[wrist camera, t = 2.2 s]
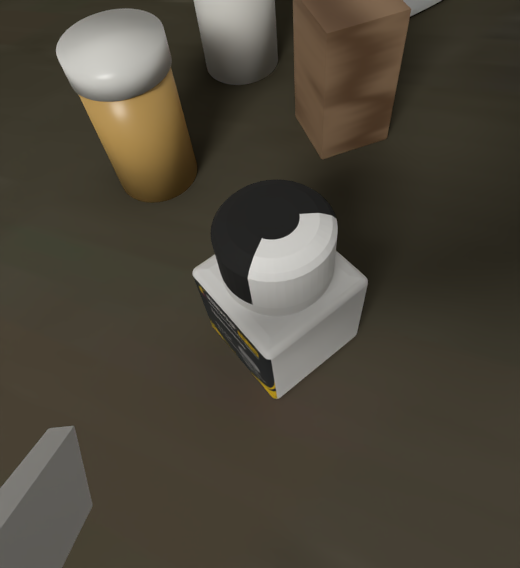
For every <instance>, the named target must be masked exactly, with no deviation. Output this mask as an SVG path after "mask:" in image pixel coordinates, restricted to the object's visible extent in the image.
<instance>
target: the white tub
mask: <svg viewBox="0 0 520 568" xmlns="http://www.w3.org/2000/svg"><path fill="white" fill-rule="evenodd" d="M194 5H195V10H196V15H197V20H198V25H199V30H200V35H201V40H202V45H203V50H204V55H205V61H206V66H207V70H208V72H209V74H210V75H211V76H212V77H213V78H214V79H216V80H217V81H219V82H222V83H225V84H230V85H245V84H250V83H254V82H257V81H260V80H262V79H264V78H265V77H267V76H268V75H270V74H271V73H272V72H273V71H274V69H275V68H276V66H277V63H278V51H277V32H276V13H275V0H194Z"/></svg>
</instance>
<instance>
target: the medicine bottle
mask: <svg viewBox="0 0 520 568" xmlns="http://www.w3.org/2000/svg"><path fill="white" fill-rule="evenodd" d="M337 233H338V225H337V219H336V216H335V213H334V211H333V209H332V207H331V206H330V204H329V203H328V202H327V200H326V199H324V198H323V197H322V196H321V195H320V194H319V193H317V192H316V191H314V190H313V189H311V188H309V187H307V186H305V185H302V184H300V183H296V182H293V181H287V180H266V181H260V182H257V183H253V184H251V185H248V186H246V187H244V188H242V189H240V190H238V191H237V192H236V193H234V194H233V195H231V196H230V197H229V198H228V199H227V200H226V201H225V202H224V203H223V204H222V205H221V206H220V208H219V209H218V211H217V212H216V214H215V217H214V219H213V222H212V226H211V241H212V245H213V249H214V252H215V255H213V256H212V257H210V258H209V259H207V260H206V261H204V262H203V263H201V264H200V265H198V266H197V267H196V268H195V269H194V270H193V277H194V279H195V282H196V284H197V287H198V290H199V292H200V295H201V297H202V300H203V303H204V305H205V308H206V311H207V313H208V316H209V318H210V321H211V324H212V326H213V327H214V328H215V330H216V331H217V332H218V333H219V334H220V336H221V337H222V338H223V339H224V340H225V342H226V343H227V344H228V345H229V346H230V347H231V349H232V350H233V351H234V352H235V353H236V355H237V356H238V357H239V358H240V359H241V361H242V362H243V363H244V364H245V365H246V367H247V368H248V369H249V370H250V371H251V372H252V374H253V375H254V376H255V377H256V378H257V380H258V381H259V382H260V383H261V384H262V386H263V387H264V388H265V389H266V390H267V391H268V393H269V394H270V395H271V396H272V397H273V398H275V399H278V398H280V397H281V396H283V395H284V394H285V393H286V392H288V391H289V390H290V389H291V388H292V387H294V386H295V385H296V384H297V383H299V382H300V381H301V380H302V379H303V378H305V377H306V376H307V375H308V374H310V373H311V372H312V371H313V370H314V369H316V368H317V367H318V366H319V365H321V364H322V363H323V362H324V361H325V360H327V359H328V358H329V357H330V356H331V355H333V354H334V353H335V352H336V351H338V350H339V349H340V348H341V347H342V346H344V345H345V344H346V343H347V342H349V341H350V340H351V339H352V338H353V337H355V336H356V334H357V331H358V326H359V322H360V317H361V312H362V308H363V303H364V299H365V294H366V289H367V285H368V280H367V278H366V277H365V276H364V275H363V274H362V273H361V272H360V271H359V270H358V269H356V268H355V267H354V266H353V265H352V264H351V263H350V262H349V261H347V260H346V259H345V258H344V257H343V256H342V255H341V254H340V253H338V252H337V251H336V244H337Z"/></svg>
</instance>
